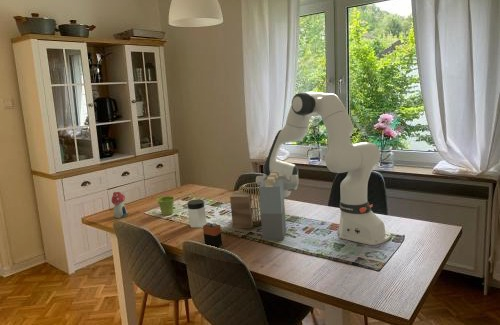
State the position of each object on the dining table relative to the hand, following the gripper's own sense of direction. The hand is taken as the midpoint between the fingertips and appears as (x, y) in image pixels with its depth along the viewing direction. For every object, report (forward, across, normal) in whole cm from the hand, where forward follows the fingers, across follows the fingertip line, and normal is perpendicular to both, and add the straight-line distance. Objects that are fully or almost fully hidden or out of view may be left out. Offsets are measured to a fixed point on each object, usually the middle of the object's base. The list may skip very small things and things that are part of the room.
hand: (274, 176), depth 177 cm
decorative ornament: (-24, -90, +14) cm, 94 cm away
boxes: (-9, -9, +23) cm, 26 cm away
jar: (-14, -41, +20) cm, 48 cm away
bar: (+5, 0, +4) cm, 6 cm away
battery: (+6, -25, +32) cm, 41 cm away
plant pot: (-28, -64, +12) cm, 71 cm away
